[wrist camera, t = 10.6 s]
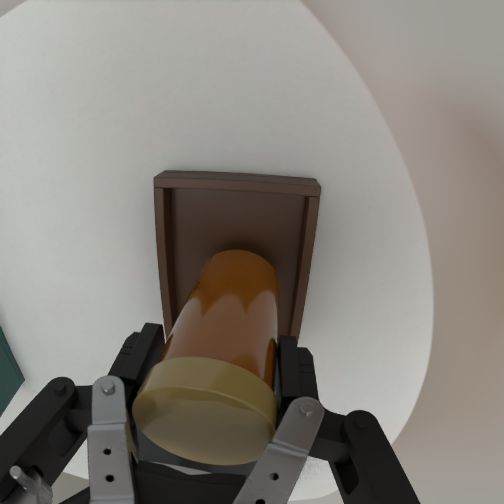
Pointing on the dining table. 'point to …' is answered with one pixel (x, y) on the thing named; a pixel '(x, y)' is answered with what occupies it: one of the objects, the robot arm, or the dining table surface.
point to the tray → (235, 232)
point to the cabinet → (8, 375)
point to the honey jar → (218, 366)
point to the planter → (187, 460)
